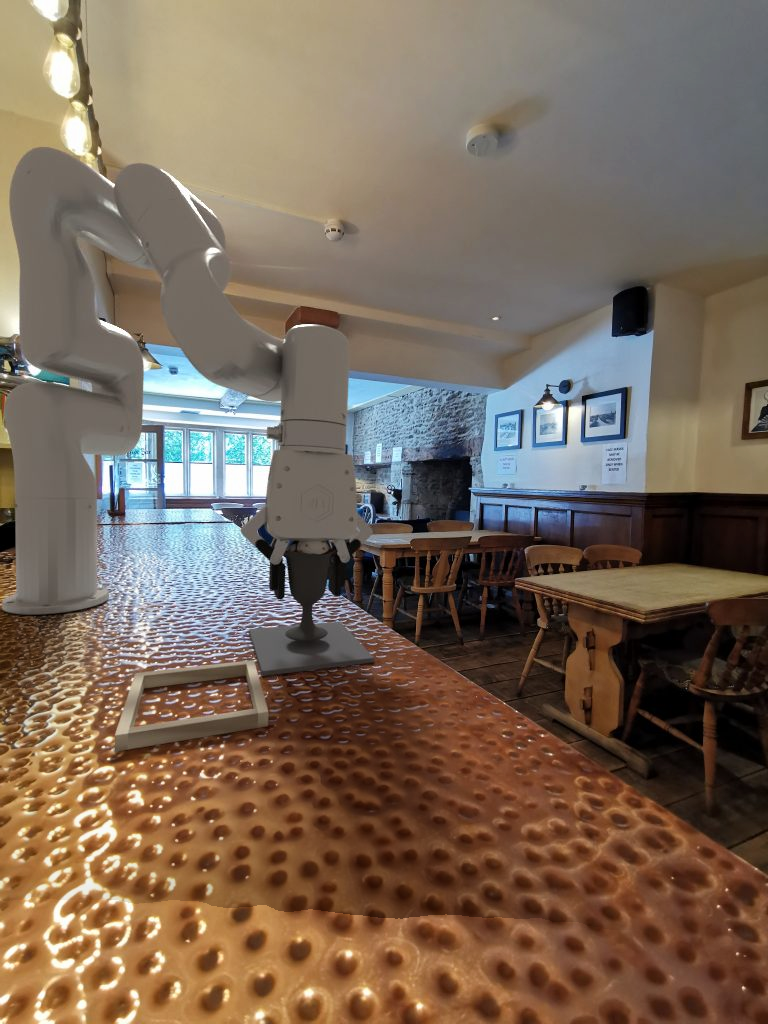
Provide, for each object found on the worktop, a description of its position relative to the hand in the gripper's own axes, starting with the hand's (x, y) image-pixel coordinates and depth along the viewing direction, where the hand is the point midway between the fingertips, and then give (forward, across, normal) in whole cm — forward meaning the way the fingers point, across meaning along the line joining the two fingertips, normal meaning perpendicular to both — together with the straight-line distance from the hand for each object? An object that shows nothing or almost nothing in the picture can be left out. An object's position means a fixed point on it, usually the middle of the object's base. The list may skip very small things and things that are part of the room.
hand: (307, 593), depth 52 cm
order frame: (+6, -12, -11) cm, 17 cm away
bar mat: (+6, 0, 0) cm, 6 cm away
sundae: (+5, 0, 0) cm, 5 cm away
